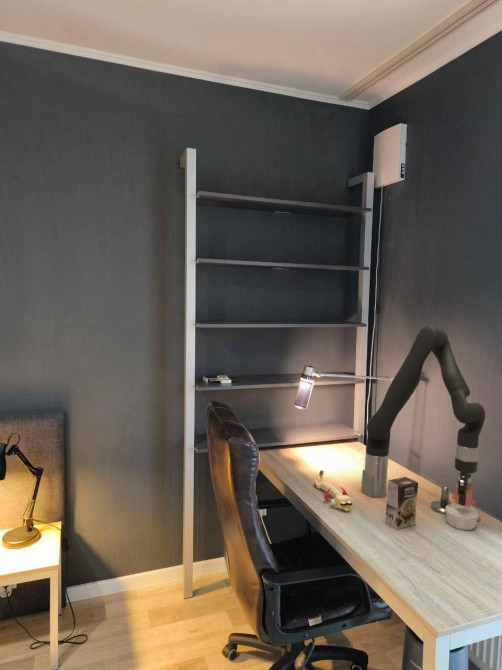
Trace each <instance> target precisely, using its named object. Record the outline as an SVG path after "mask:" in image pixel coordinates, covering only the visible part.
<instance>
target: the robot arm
mask: <svg viewBox="0 0 502 670" xmlns="http://www.w3.org/2000/svg"><path fill="white" fill-rule="evenodd" d="M430 353H433V355H434V357H435V358H436V361H437V362H438V364H439V365H438V366H439V367H440V371H441V377H442V381H443V384H444V385H445V388H446V390H447V392H448V394H449V397H450V400H451V401H450V402H451V406H452V411H453V415H454V417H455V419H456V420H457V421H458V422H460V423H461V424H464V425H463V427H461V428H459V429H458V431H457V435H456V447H455V456H454V465H453V467H454V469H455V470H456V471H459V474H458V478H457V482H458V495H459V502H458V504H459V505H463V506H465V501H466V495H467V494H466V493H467V490H468V489H469V485H471V483H472V478H473V475H472V474H475V473H476V472H478V464H479V441H480V440H479V438H480V437H479V436H480V433H481V432H482V429H483V426H484V423H485V419H486V411H485V409H484V406H483V405H482V404H480V403H479V402H469V403H468V401H467V398H468V397H469V396H470V395H471V390H470V388H469V386H468V384H467V382H466V380H465V378H464V376H463V374H462V372H461V370H460V368H459V366H458V363H457V361H456V359H455V357H454V353H453V350H452V347H451V344H450V340H449V337H448V334H447V333H446V331H444V330H443V329H441V328H438V327H436V326H433V325H426V326H424V327H422V328H420V330H419V331H418V333H417V335H416V336H415V338H414V341H413V343H412V345H411V348H410V350H409V352H408V354H407V356H406V357H405V359H404V360H403V362H402V365H401V366H400V368H399V369H398V371H397V372H396V374H395V376H394V378H393V379H392V381H391V382H390V385H389V386H388V388H387V391H386V393H385V396H384V398H383V401H382V402H381V404H380V406H379V408H378V409H377V411H376V412H375V413H374V414H373V415H371V416H370V417H369V419H368V421H367V423H366V432H367V435H366V436H367V437H366V444H365V458H364V459H365V461H364V469H363V470H362V475H361V476H362V477H361V491H360V492H362V493H364V494H365V495H366V496H368V497H370V498H383V497H385V496H387V485H388V467H389V456H390V455H389V453H390V442H391V429H392V427H393V424H394V422H395V420H396V418H397V417H398V414H399V413H400V412H401V410H403V408H404V407H405V405H406V404H407V402H409V400H410V398H411V397H412V395H413V394H414V392H415V391H416V389H417V387H418V385H419V384H420V381H421V377H422V371H423V367H424V364H425V361H426V360H427V358H428V357H429V356H430V355H429V354H430ZM466 486H467V487H466ZM461 490H464V492H461Z"/></svg>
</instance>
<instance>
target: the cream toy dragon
mask: <svg viewBox="0 0 502 670" xmlns="http://www.w3.org/2000/svg"><path fill="white" fill-rule="evenodd" d="M324 472H325V471H324V470H319V473H318V475H319V478H320V481H319V482H318V480H315V481H314V483H313V487H315V488H317V489H318V490H319V489H321V490H323V491H324V492H325V495H324V496H323V499H324V500H325V501H326V502H327V501H328V502H329V497H330V496H332V498H331V499H330V505H331V506H333V507H334V508H336V509H339V510H343V511H345V512H349V511H350V510H351V509H352V508H351V507H352V505H353V503H354V499H352V498H351V497H350V496H349V494H348V493H347V491H346V489H344V488H343V487H341V486H339V489H341V490H342V492H341V491H340V490H339V489H338V488H337V487H335V486H334V485H333V484H331V483H330V482H327V481H326V480H325V479H324V477H323V475H324ZM316 486H317V487H316Z"/></svg>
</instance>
